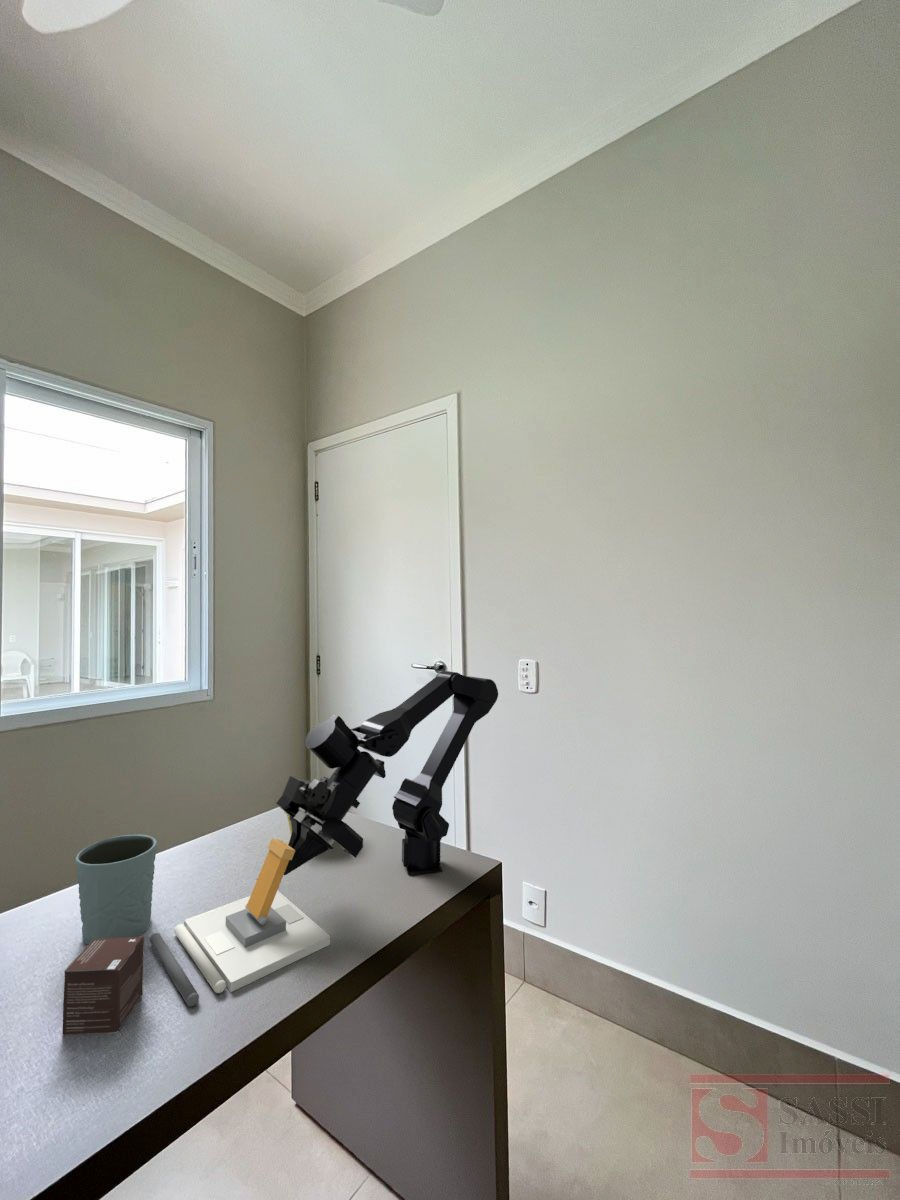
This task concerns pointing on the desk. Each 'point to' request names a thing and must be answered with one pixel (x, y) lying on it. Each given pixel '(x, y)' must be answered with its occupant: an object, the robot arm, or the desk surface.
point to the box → (103, 986)
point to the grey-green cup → (116, 886)
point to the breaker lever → (269, 880)
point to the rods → (178, 973)
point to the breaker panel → (254, 939)
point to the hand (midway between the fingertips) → (281, 873)
